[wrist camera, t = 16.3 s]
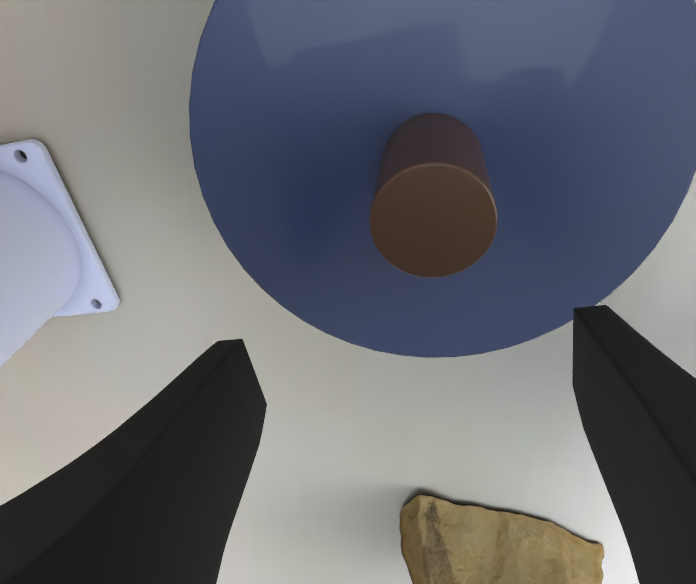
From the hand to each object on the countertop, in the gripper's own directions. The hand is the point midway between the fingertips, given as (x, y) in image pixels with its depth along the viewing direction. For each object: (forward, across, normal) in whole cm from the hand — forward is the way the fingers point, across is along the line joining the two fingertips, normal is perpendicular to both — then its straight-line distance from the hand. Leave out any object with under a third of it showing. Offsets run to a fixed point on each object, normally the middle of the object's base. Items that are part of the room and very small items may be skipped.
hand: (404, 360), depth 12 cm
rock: (+11, -2, +21) cm, 24 cm away
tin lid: (+4, -1, -3) cm, 5 cm away
